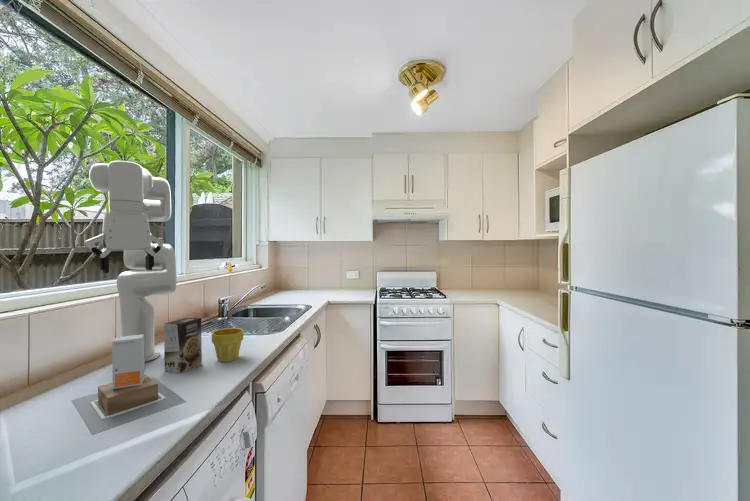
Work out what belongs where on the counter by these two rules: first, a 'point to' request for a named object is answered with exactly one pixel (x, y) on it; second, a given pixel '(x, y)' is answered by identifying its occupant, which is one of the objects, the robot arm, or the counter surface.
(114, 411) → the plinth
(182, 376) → the counter surface
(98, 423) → the grey rectangular mat
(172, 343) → the coffee box
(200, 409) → the counter surface
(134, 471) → the counter surface
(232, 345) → the plant pot
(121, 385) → the skincare box
